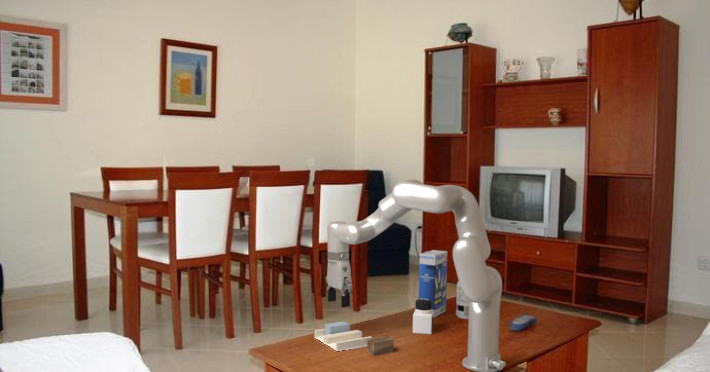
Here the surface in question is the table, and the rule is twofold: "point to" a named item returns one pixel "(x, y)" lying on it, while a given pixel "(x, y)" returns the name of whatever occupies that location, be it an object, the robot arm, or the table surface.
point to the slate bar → (337, 327)
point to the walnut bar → (380, 345)
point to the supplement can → (461, 304)
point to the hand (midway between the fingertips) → (338, 303)
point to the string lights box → (433, 279)
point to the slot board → (342, 339)
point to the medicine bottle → (423, 317)
